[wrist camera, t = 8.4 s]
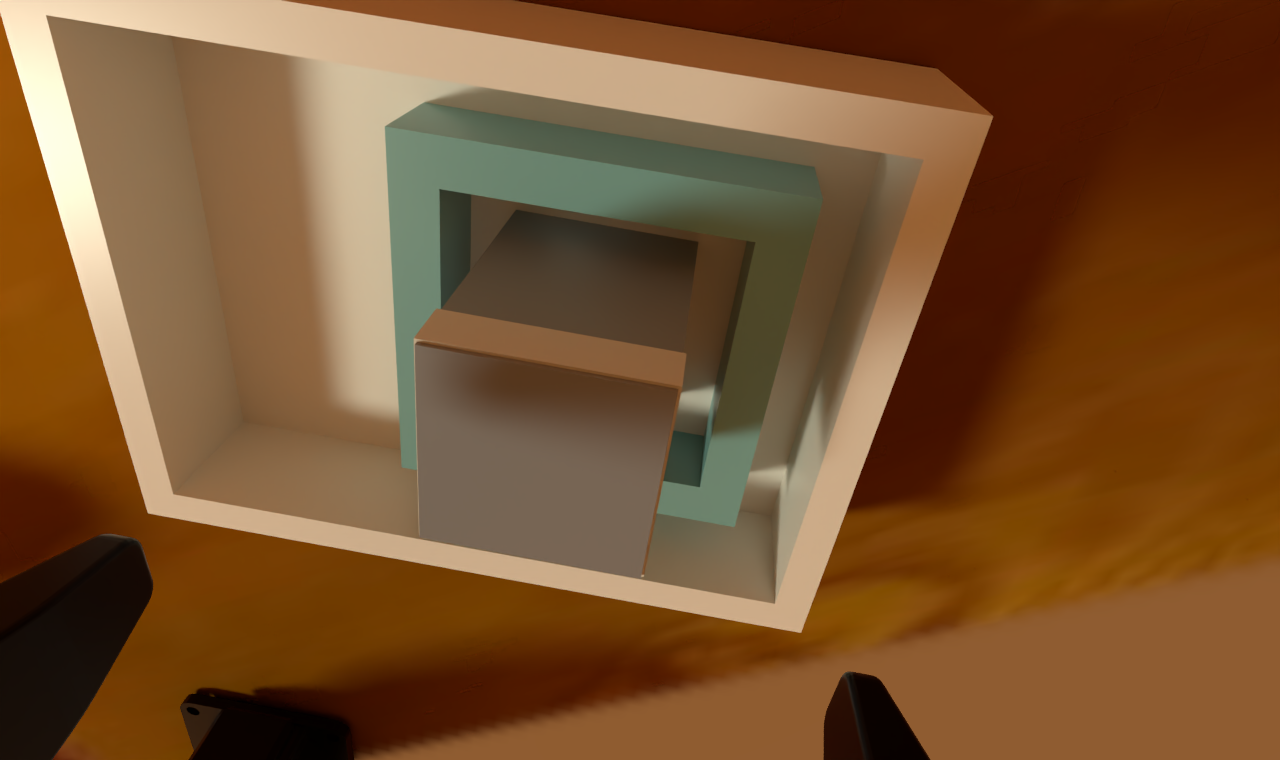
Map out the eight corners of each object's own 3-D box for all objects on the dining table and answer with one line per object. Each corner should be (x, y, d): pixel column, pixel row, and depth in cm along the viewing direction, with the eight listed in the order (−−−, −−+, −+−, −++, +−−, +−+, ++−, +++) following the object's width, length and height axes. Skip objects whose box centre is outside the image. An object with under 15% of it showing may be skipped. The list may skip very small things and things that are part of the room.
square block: (670, 396, 19) (643, 581, 13) (505, 366, 19) (417, 539, 14) (701, 240, 16) (681, 390, 11) (513, 207, 16) (411, 341, 11)
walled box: (792, 518, 21) (800, 632, 18) (239, 419, 22) (147, 513, 18) (937, 68, 15) (993, 116, 12) (149, -58, 15) (-18, -49, 12)
